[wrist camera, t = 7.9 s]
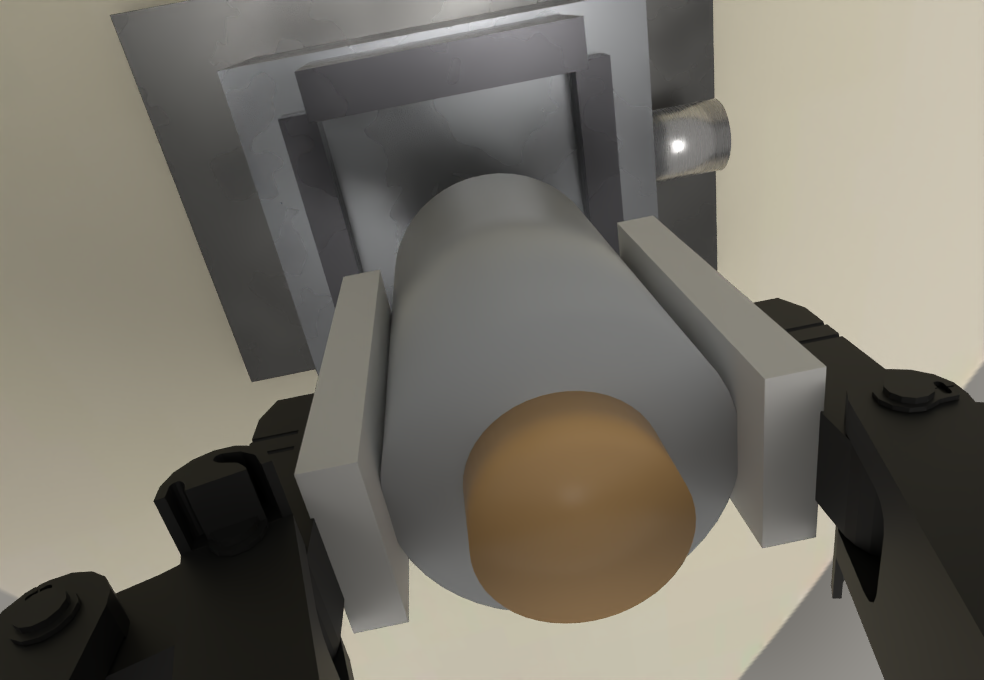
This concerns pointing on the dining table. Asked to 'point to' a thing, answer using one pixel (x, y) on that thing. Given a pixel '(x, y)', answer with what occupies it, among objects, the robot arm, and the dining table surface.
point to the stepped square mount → (413, 132)
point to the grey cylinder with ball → (543, 410)
